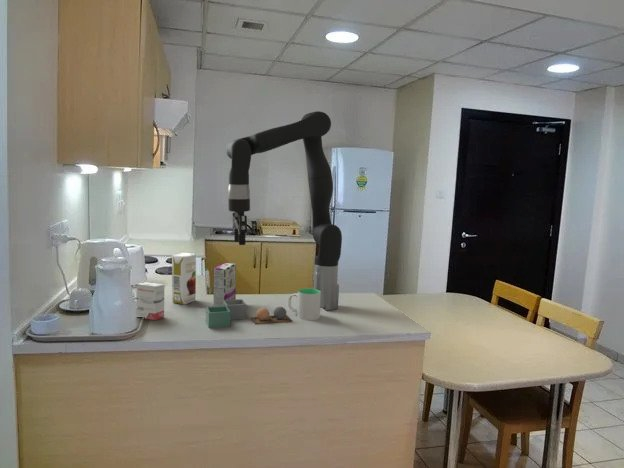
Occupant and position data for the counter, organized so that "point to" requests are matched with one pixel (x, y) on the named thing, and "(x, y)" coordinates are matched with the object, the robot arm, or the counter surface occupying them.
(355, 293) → the counter surface
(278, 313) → the ball grey
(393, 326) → the counter surface
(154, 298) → the ink box
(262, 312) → the ball clay
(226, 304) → the grey open box
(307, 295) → the mug
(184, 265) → the juice carton
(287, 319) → the rack
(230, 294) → the candy bar box
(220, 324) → the green open box
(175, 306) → the counter surface
